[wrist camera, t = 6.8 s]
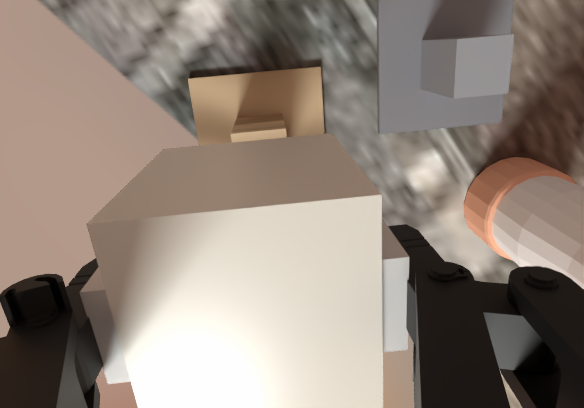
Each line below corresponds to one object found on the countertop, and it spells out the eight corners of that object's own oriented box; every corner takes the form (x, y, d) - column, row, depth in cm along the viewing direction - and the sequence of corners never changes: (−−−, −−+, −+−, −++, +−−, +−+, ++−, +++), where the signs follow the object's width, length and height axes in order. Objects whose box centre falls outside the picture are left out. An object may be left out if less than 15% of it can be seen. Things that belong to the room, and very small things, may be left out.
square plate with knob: (376, -4, 27) (406, -16, 22) (510, -15, 27) (573, -31, 22) (377, 132, 30) (403, 152, 25) (497, 121, 31) (549, 138, 25)
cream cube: (163, 149, 15) (86, 223, 9) (331, 132, 15) (381, 194, 9) (192, 294, 17) (147, 442, 11) (338, 278, 18) (383, 415, 11)
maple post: (189, 78, 28) (170, 86, 23) (319, 66, 29) (333, 71, 23) (209, 200, 32) (197, 234, 26) (326, 189, 32) (340, 220, 26)
